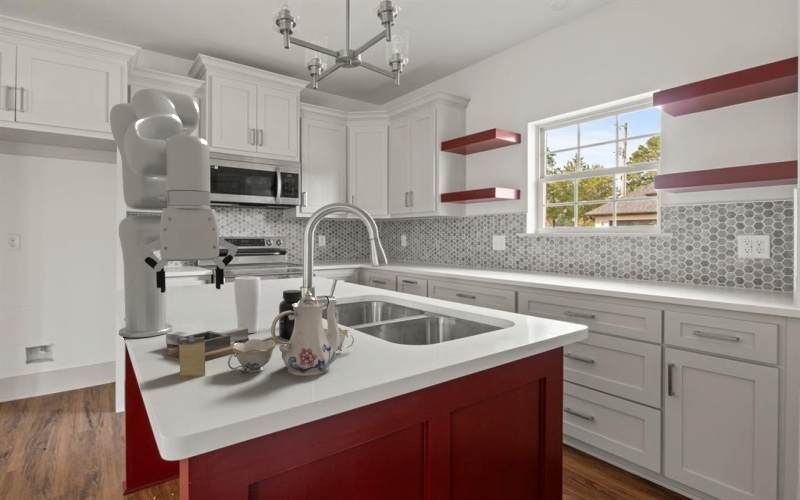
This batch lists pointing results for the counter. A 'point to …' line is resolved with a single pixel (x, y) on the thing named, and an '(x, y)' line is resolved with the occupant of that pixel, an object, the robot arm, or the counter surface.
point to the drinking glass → (247, 302)
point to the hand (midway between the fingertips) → (191, 290)
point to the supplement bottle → (286, 305)
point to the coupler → (192, 357)
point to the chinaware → (298, 341)
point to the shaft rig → (209, 342)
